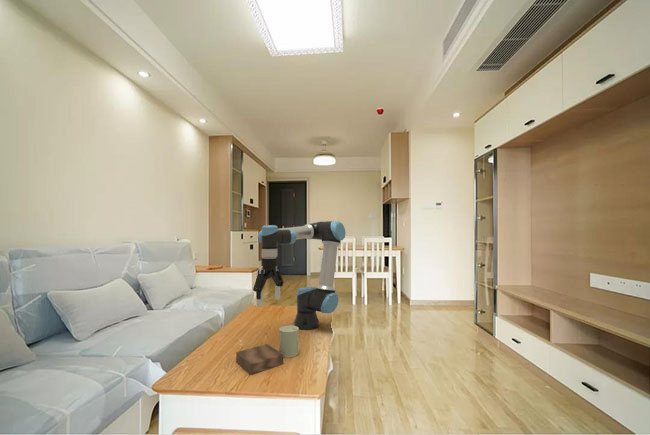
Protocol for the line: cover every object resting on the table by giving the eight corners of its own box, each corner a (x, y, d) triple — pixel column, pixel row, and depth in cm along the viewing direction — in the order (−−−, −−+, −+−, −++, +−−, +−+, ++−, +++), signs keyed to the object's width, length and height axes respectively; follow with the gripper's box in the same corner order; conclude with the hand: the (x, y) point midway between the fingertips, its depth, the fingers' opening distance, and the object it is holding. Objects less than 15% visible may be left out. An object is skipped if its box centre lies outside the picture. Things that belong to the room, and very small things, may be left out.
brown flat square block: (266, 352, 132) (267, 343, 133) (283, 363, 121) (283, 354, 121) (236, 361, 123) (236, 351, 123) (250, 374, 111) (250, 364, 111)
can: (295, 358, 126) (295, 331, 127) (275, 356, 128) (276, 330, 128) (301, 350, 135) (301, 325, 136) (282, 348, 137) (283, 323, 137)
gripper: (278, 255, 146) (278, 296, 145) (245, 259, 124) (244, 308, 122) (290, 255, 143) (290, 297, 142) (258, 260, 120) (258, 310, 119)
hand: (269, 302), depth 132 cm, fingers open, 13 cm apart
